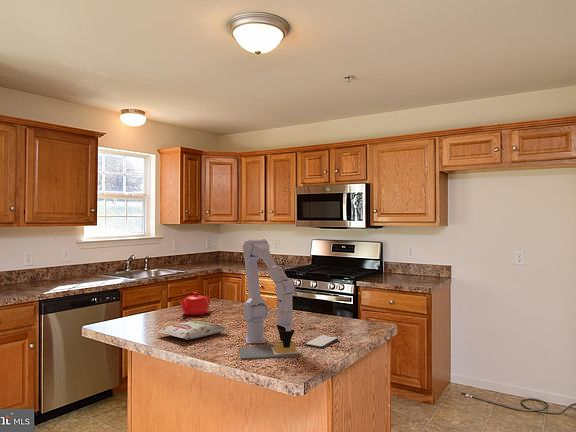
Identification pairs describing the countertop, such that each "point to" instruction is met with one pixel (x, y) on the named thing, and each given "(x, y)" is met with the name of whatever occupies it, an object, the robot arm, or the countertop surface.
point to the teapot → (195, 305)
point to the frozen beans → (192, 329)
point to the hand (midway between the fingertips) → (285, 345)
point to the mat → (264, 353)
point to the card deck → (280, 348)
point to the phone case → (321, 341)
